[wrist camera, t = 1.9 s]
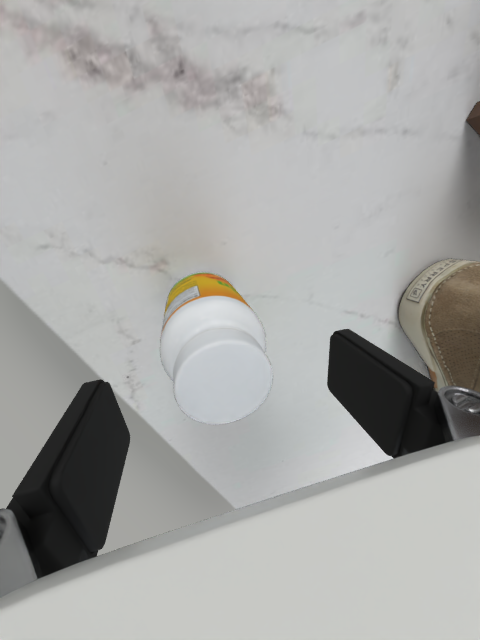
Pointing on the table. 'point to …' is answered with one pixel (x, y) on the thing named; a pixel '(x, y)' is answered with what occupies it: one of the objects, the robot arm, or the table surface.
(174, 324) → the supplement bottle
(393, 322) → the table surface
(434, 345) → the slip on shoe
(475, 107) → the shelf
